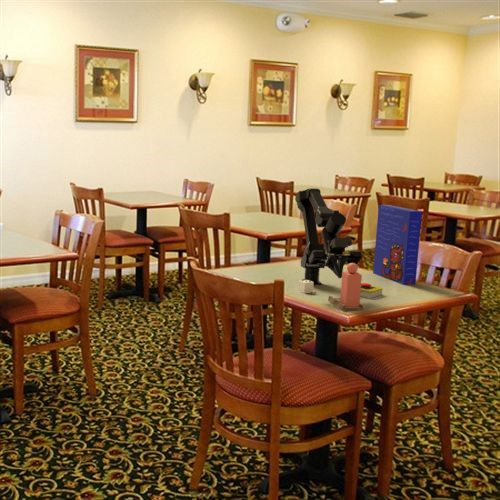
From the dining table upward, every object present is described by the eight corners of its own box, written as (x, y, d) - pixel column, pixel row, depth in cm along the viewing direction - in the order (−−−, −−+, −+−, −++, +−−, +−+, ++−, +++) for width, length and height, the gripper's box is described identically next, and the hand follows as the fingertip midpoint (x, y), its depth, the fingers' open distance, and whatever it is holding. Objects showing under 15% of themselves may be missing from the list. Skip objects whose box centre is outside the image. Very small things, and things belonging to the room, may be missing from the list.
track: (327, 300, 237) (328, 295, 237) (347, 300, 239) (348, 295, 239) (342, 311, 224) (343, 305, 224) (363, 310, 226) (364, 305, 226)
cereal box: (415, 284, 272) (422, 211, 267) (403, 284, 270) (410, 211, 265) (384, 272, 292) (390, 204, 287) (373, 273, 290) (378, 204, 284)
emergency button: (375, 289, 242) (339, 281, 251) (374, 300, 243) (339, 293, 252) (387, 285, 249) (352, 278, 258) (386, 296, 250) (351, 289, 259)
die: (298, 290, 251) (298, 279, 250) (307, 290, 252) (307, 278, 252) (304, 293, 247) (304, 281, 246) (313, 292, 249) (313, 281, 248)
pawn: (339, 302, 230) (343, 261, 227) (353, 302, 231) (356, 261, 229) (345, 306, 225) (348, 264, 223) (359, 306, 227) (362, 264, 224)
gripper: (313, 228, 235) (322, 265, 227) (362, 228, 240) (373, 265, 232) (304, 245, 244) (313, 282, 236) (352, 246, 249) (361, 281, 241)
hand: (340, 277), depth 236 cm, fingers closed
